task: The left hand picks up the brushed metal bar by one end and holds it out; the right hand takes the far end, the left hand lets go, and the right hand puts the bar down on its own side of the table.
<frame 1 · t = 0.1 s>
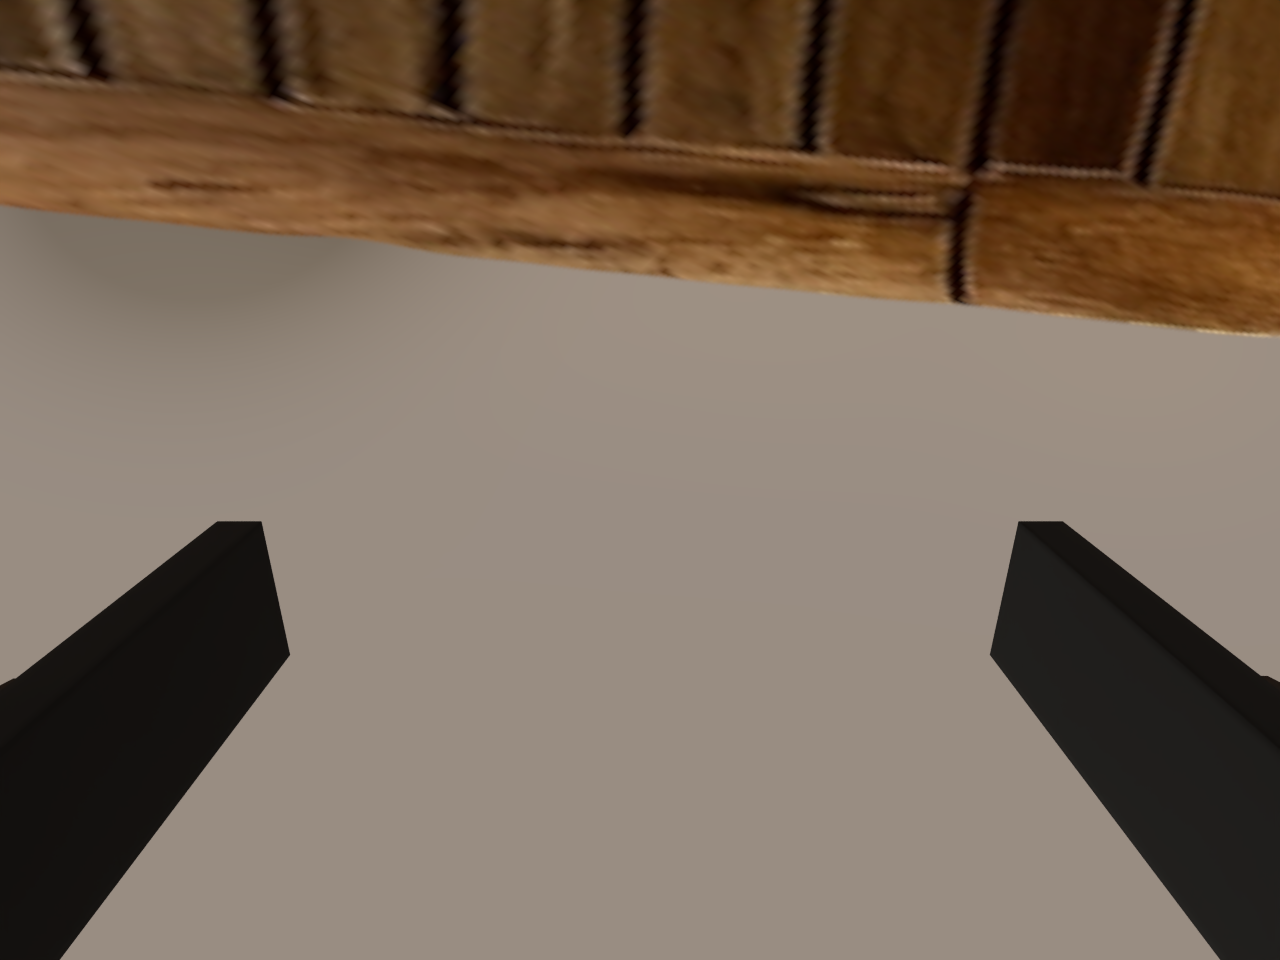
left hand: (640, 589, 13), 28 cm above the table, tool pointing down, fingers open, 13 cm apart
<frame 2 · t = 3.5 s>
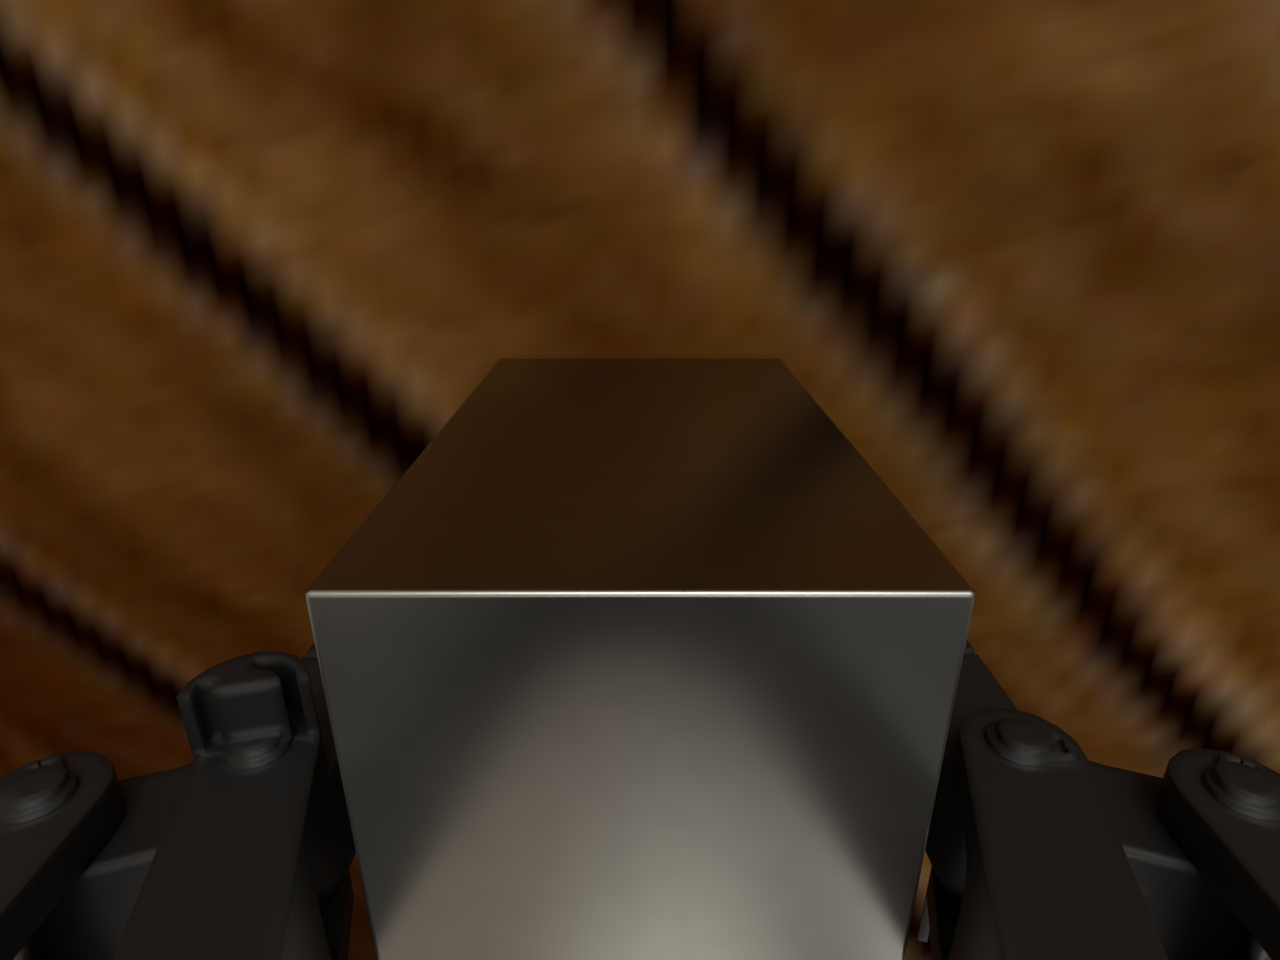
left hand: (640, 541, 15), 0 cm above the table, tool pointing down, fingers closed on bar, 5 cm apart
bar: (640, 842, 18), on the table, touching left hand
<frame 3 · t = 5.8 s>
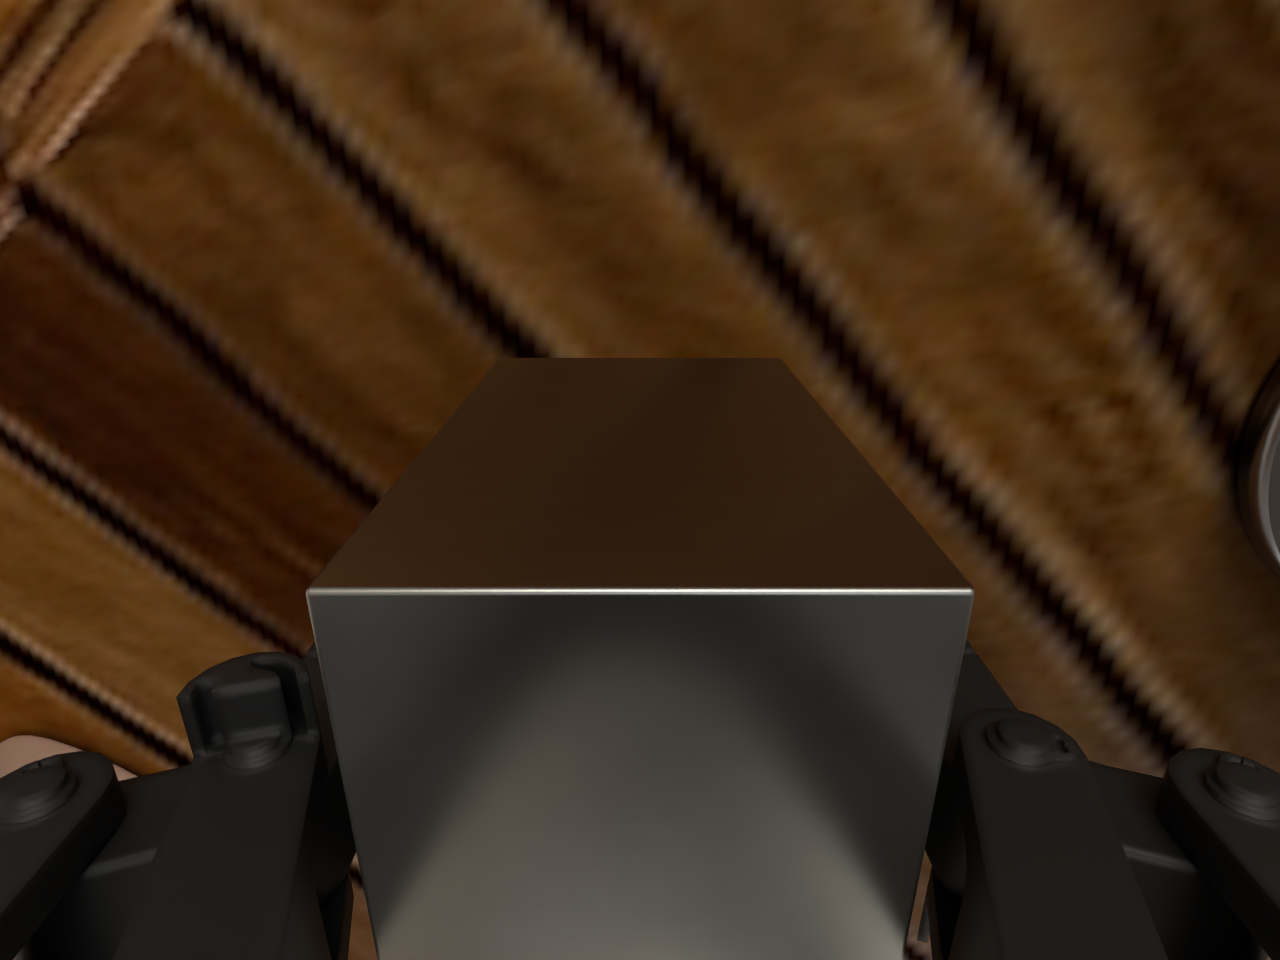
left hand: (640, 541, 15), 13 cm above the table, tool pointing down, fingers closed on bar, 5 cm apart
bar: (640, 841, 18), point 12 cm above the table, touching left hand
anatomical model: (89, 847, 35), on the table
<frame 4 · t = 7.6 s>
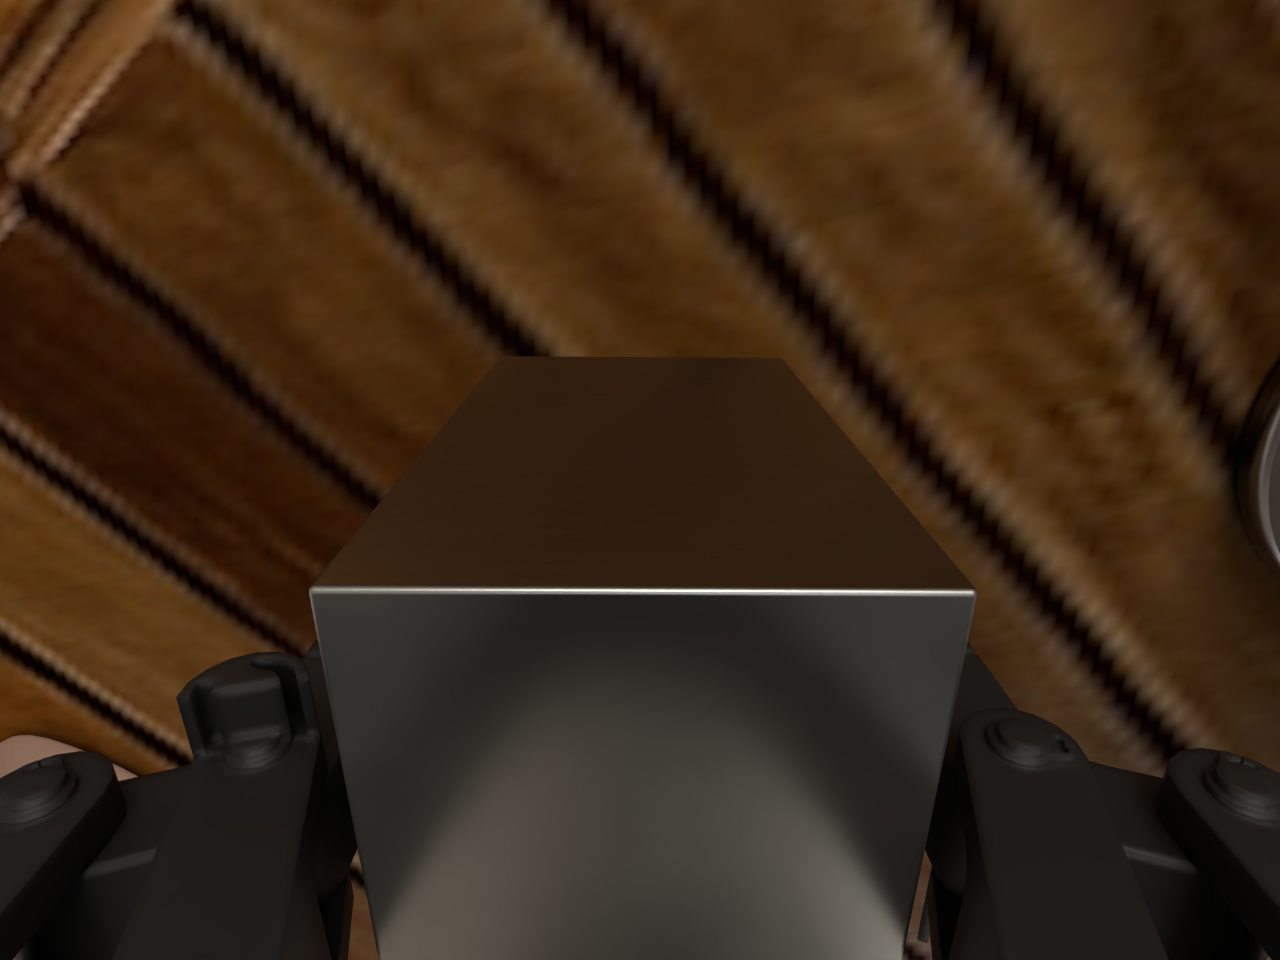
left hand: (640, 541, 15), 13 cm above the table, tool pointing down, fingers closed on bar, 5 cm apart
bar: (638, 840, 18), point 12 cm above the table, touching left hand, right hand
anatomical model: (89, 846, 35), on the table
when the left hand's fingers open (13 cm above the table, at t = 8.5 s): bar stays where it is, held by the right hand.
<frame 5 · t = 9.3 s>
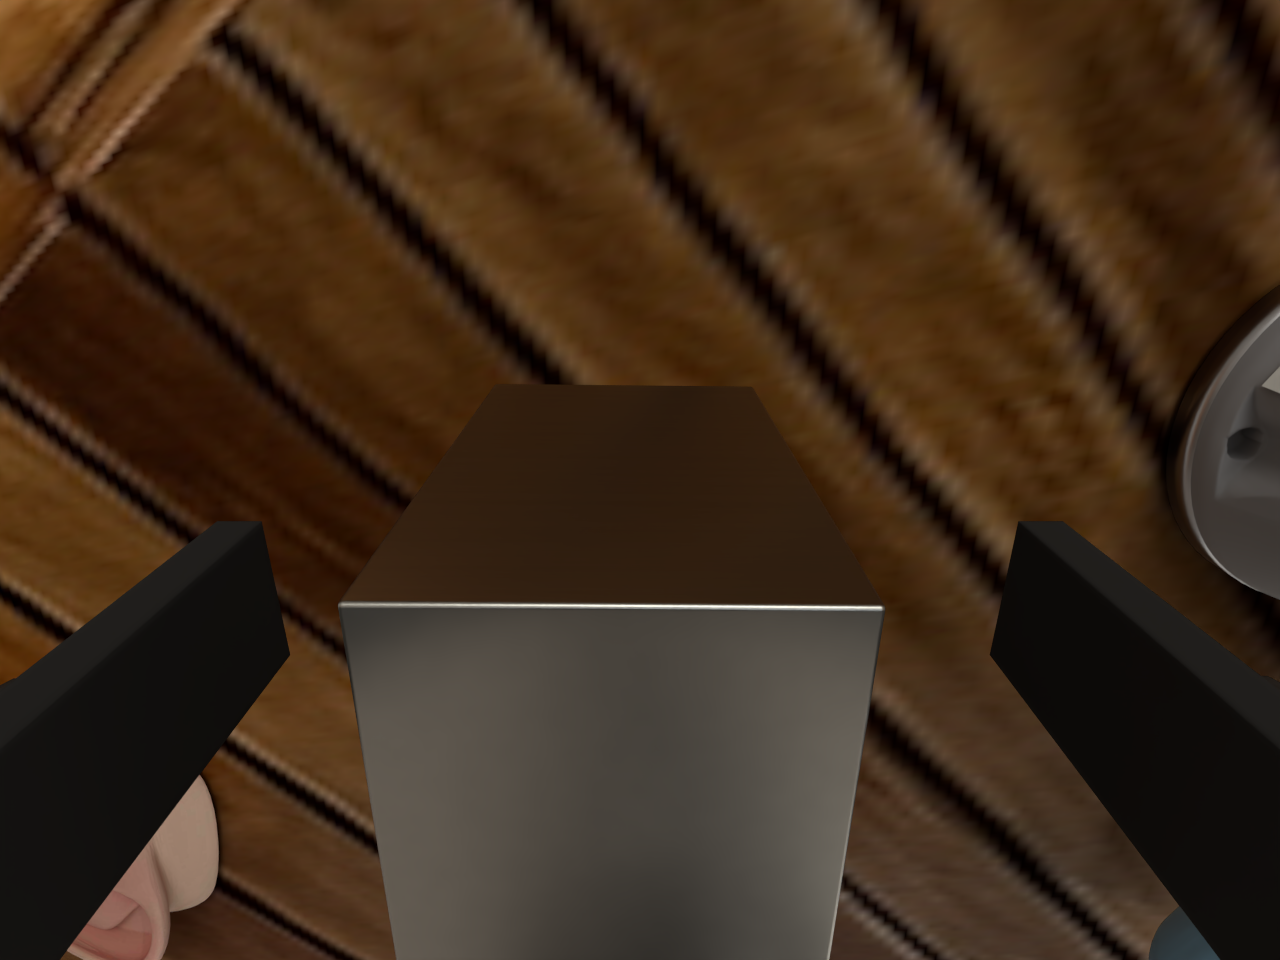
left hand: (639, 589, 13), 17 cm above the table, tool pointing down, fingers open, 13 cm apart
bar: (622, 831, 20), point 14 cm above the table, touching right hand
anatomical model: (112, 808, 37), on the table
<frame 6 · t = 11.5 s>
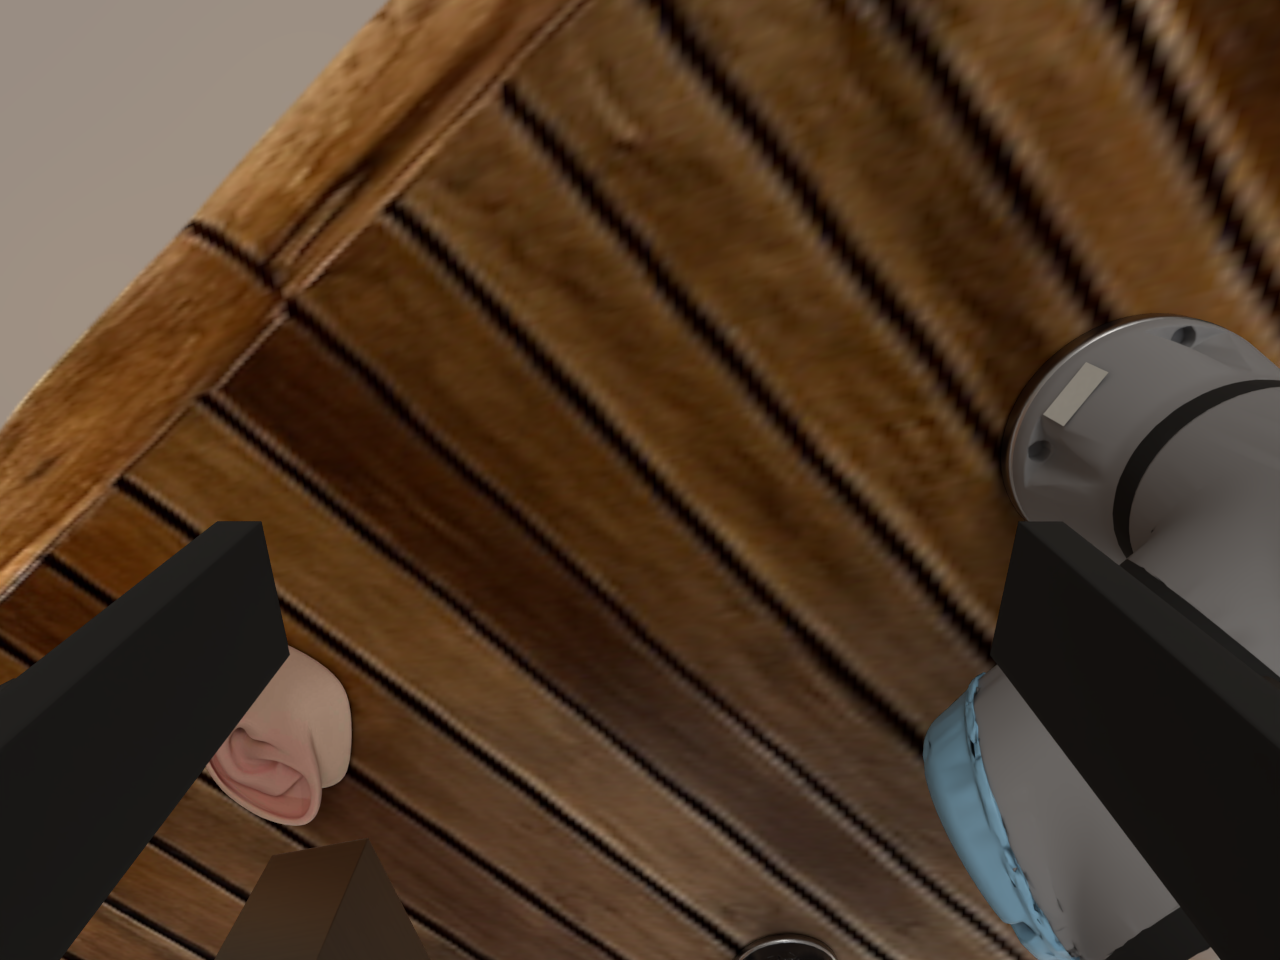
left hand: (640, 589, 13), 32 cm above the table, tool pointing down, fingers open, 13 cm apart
anatomical model: (278, 712, 53), on the table
when the right hand's fingers open (5 cm above the table, at t = 15.8 s): bar drops 1 cm, on the table.
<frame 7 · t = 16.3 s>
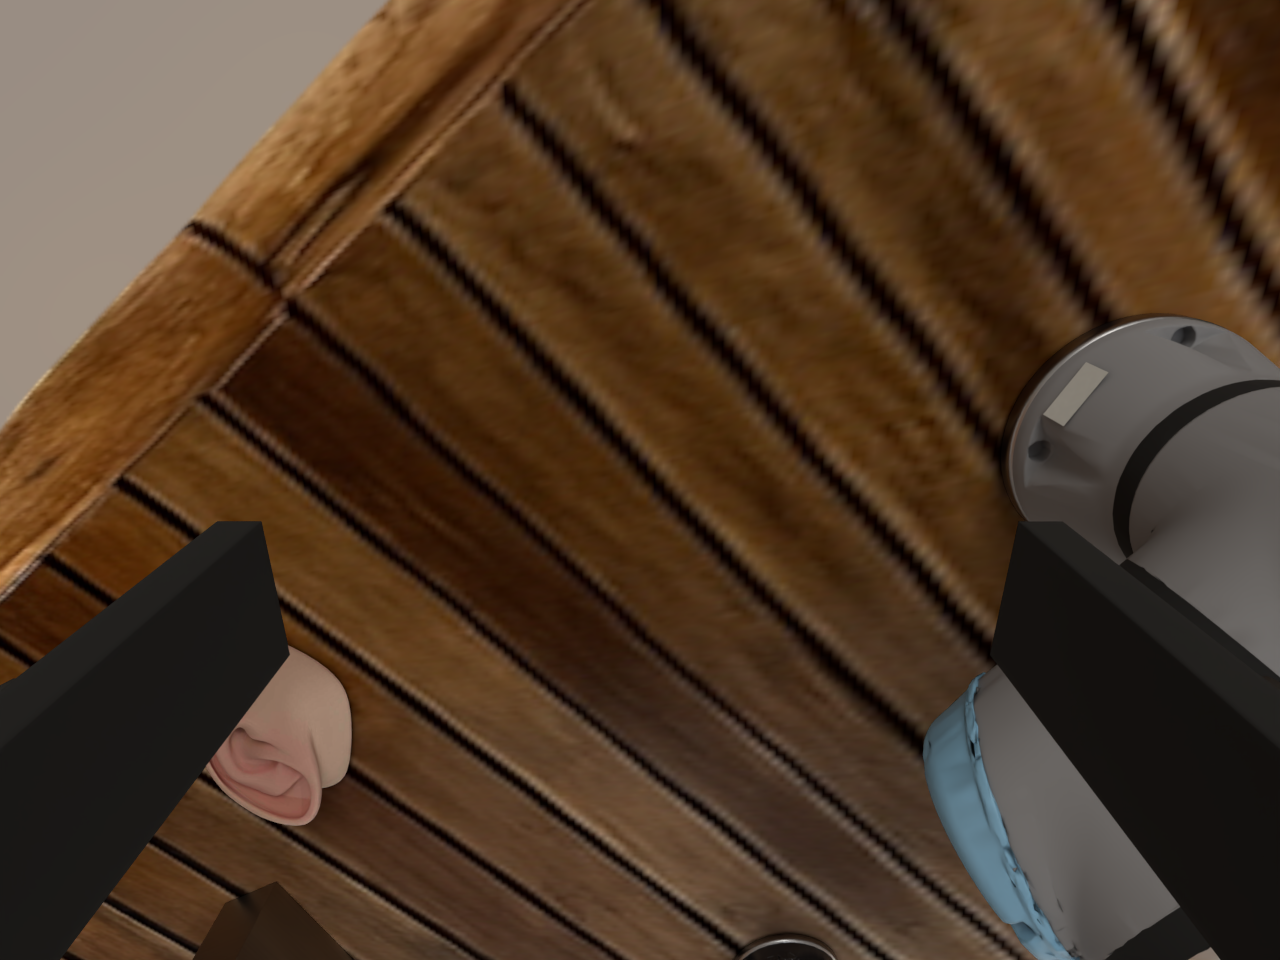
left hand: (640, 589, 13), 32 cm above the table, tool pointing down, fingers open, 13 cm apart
anatomical model: (278, 712, 53), on the table
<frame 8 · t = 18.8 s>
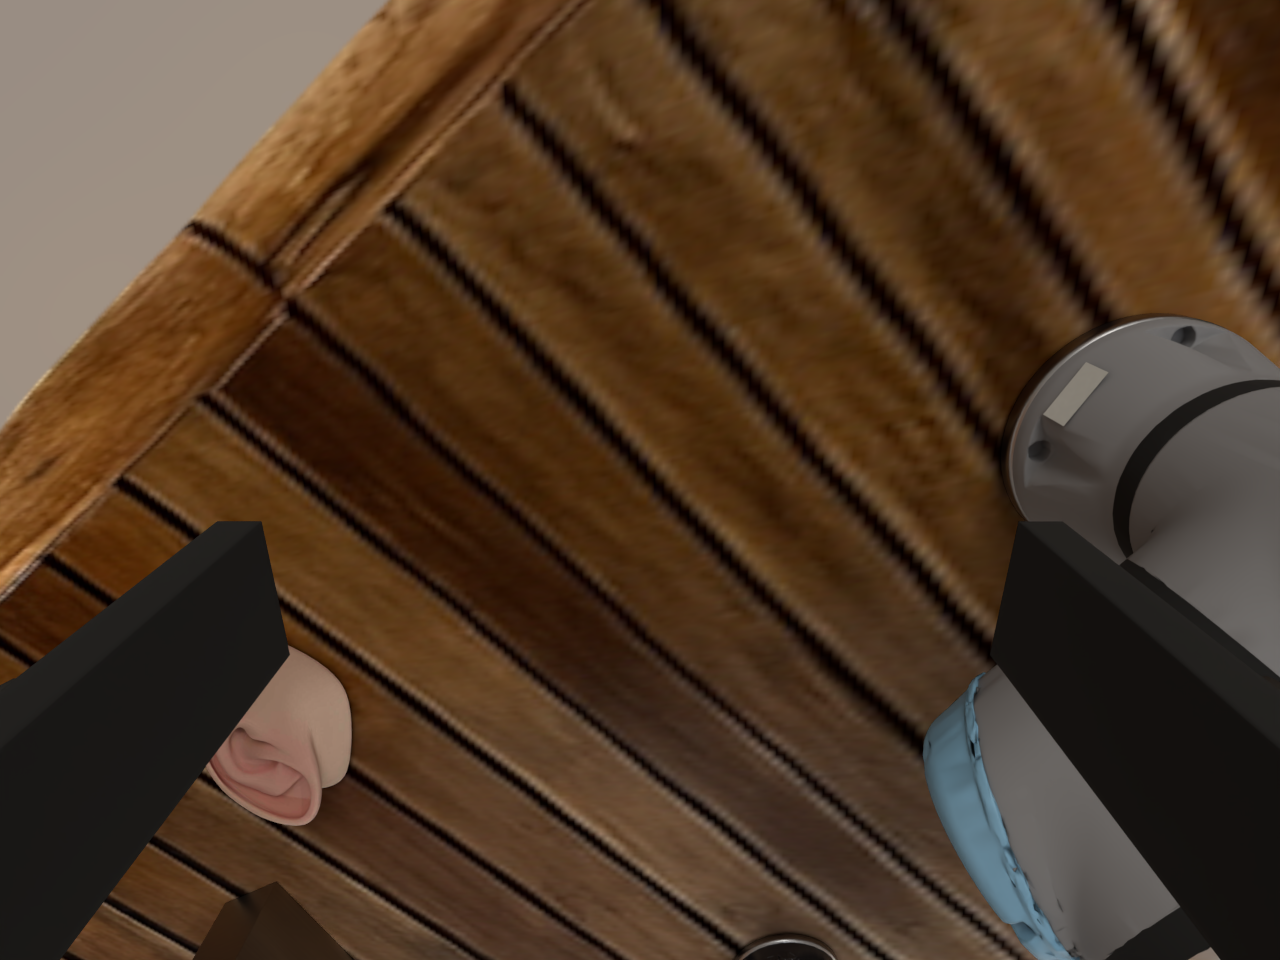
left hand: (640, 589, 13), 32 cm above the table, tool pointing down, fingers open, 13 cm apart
anatomical model: (278, 712, 53), on the table
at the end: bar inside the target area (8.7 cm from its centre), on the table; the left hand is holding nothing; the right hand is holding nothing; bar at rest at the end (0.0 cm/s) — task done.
